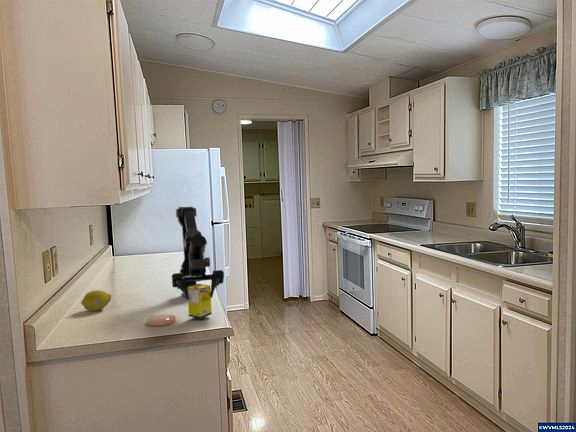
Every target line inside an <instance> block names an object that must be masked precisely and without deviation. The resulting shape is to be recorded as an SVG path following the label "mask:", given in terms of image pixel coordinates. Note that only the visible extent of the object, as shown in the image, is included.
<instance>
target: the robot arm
mask: <svg viewBox="0 0 576 432" xmlns="http://www.w3.org/2000/svg"><path fill="white" fill-rule="evenodd" d="M175 217H176V218H177V222H178V224H179V225H180V226H181V231H182V233H181V235H182V247H183V258H184V259H183V261H182V263H181V265H180V269H179V272H177V273H176V272H175V273H174V272H173V274H171V283H172V284H171V285H172V288H177V290H179V291H181V292H182V293H180V294H181V296H183V297H184V298H185V299H186V301H188V287H190V286H193V285H196V284H198V283H197V282H203V281H211V282H210V287H211V299H213V297H214V293H215V290H216V287H217V286H220V285H222V284H223V283H224V279H225V278H224V277H225V272H224V271H223V269H217V270H216V269H215V270H212V273H211V274H206V273H207V268H210V266H211V259H210V257H205V255H204V254H205V252H206V245H207V244H208V241H207V238H206V237H205V236H204V235H202V232H201V231H200V230H198V227H197V226H198V225H197V222H196V217H197V208H196V207H193V206H178V208H176V209H175Z"/></svg>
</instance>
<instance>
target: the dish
mask: <svg viewBox="0 0 576 432" xmlns="http://www.w3.org/2000/svg"><path fill="white" fill-rule="evenodd" d="M176 322H177V317H176V315H174V314H168V313H167V314H166V313H164V314H163V313H162V314H157V315H153V316H152V315H151V316H150V317H148V318H147V319H146V325H147V326H148V327H166V326H169V325H172V324H174V323H176Z"/></svg>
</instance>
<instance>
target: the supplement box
mask: <svg viewBox="0 0 576 432" xmlns="http://www.w3.org/2000/svg"><path fill="white" fill-rule="evenodd" d="M187 303H188V305H187V306H188V307H187V308H188V317H192V318H196V319H203V318H206V317H208V316H211V315H213V314H212V298H211V284H210V285H209V284H203V283H197V284H196V285H193V286H190V287H188V300H187Z"/></svg>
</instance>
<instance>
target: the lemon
mask: <svg viewBox="0 0 576 432" xmlns="http://www.w3.org/2000/svg"><path fill="white" fill-rule="evenodd" d="M111 300H112V294H111V293H108V292H105V291H104V290H100V289H98V290H92V291H91V290H90V291H89V292H87V293H85V295H84V297H83V298H82V300H81V302H80V304H81V305H82V306H83V308H84V309H85V310H86V311H88V312H98V311H100V310H103V309H104V308H105V307H106V306H107V305H108V304H109V303H110V302H111Z"/></svg>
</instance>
